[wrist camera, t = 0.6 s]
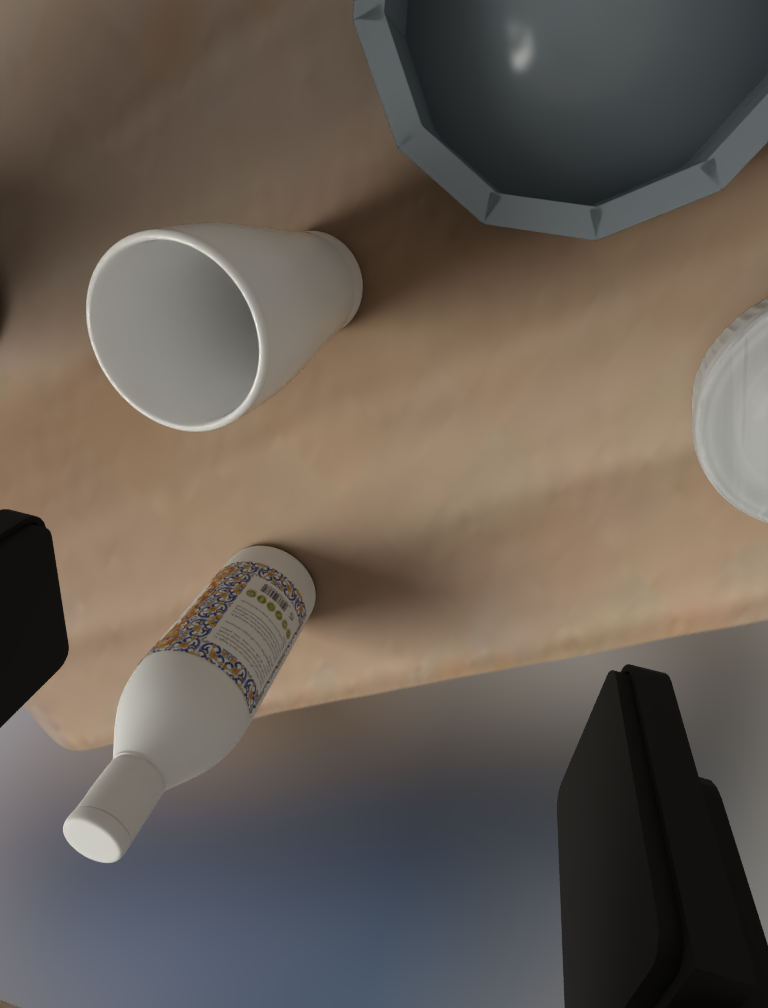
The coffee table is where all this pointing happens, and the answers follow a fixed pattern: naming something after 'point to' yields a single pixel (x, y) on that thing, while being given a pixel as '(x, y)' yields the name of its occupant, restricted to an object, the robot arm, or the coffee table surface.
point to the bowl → (572, 102)
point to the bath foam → (194, 693)
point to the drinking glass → (216, 316)
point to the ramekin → (735, 412)
